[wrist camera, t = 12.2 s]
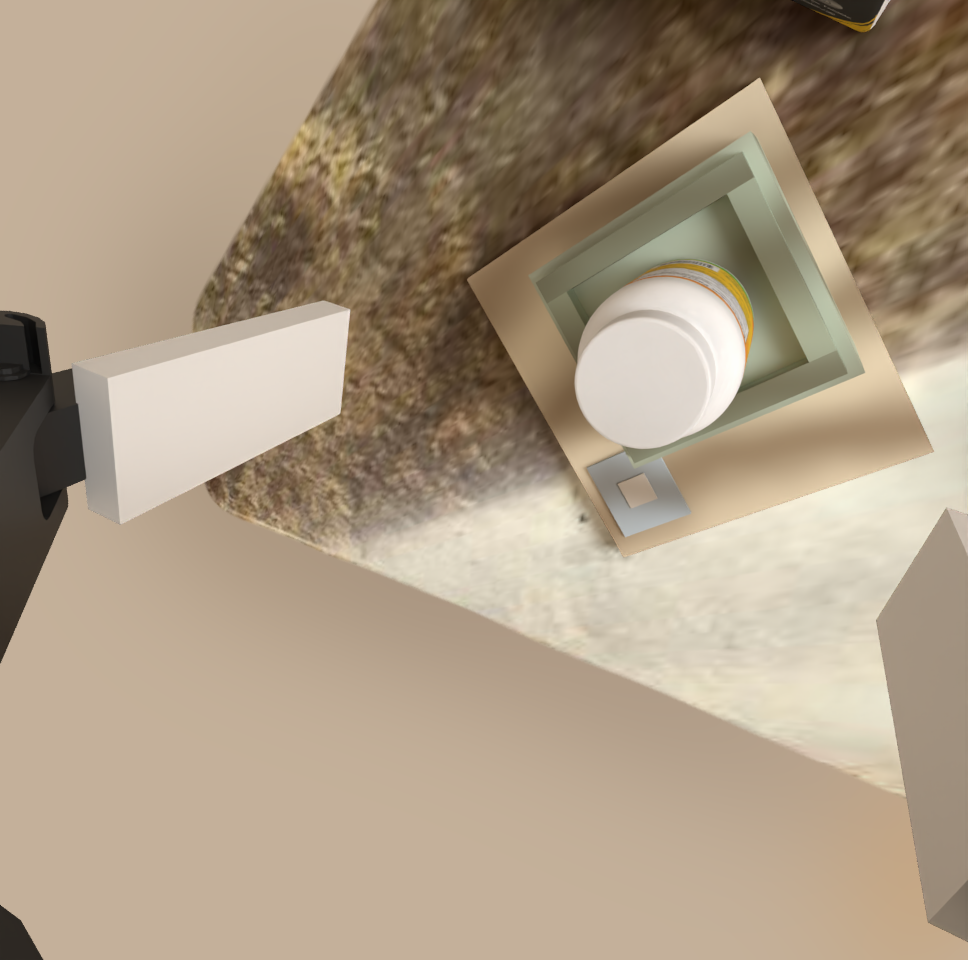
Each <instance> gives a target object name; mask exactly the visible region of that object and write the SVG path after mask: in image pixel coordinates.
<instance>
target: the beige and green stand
mask: <svg viewBox="0 0 968 960" xmlns="http://www.w3.org/2000/svg"><path fill="white" fill-rule="evenodd" d="M685 258H694V259H702V260H706V261H709V262H712V263H715V264H717V265H719V266H721V267H723V268H724V269H726V270H728V271H729V272H730V273H732V274H733V275H734V276H735V277H736V278H737V279H738V280H739V282H740V283H741V284H742V285H743V287H744V289H745V291H746V292H747V294H748V297H749V299H750V302H751V305H752V309H753V315H754V330H753V337H752V342H751V346H750V351H749V354H748V358H747V363H746V366H745V371H744V375H743V378H742V381H741V384H740V387H739V389H738V391H737V393H736V395H735V397H734V399H733V400H732V402H731V404H730V405H729V406H728V408H727V409H726V410H725V411H724V412H723V414H722V415H721V416H720V417H718V418H717V419H716V420H715V421H714V422H713V423H711V424H710V425H709V426H707V427H705V428H704V429H702V430H700V431H698V432H696V433H694V434H692V435H689V436H686V437H682V438H680V439H679V440H677V441H675V442H673V443H670V444H668V445H665V446H662V447H657V448H651V449H636V448H630V447H626V446H622V445H619V444H617V443H614V442H612V441H610V440H608V439H607V438H605V437H604V436H602V435H601V434H599V433H598V432H597V431H596V430H595V429H594V428H593V427H592V426H591V425H590V423H589V422H588V421H587V420H586V418H585V417H584V415H583V413H582V411H581V409H580V407H579V404H578V401H577V398H576V393H575V371H576V366H577V360H578V349H579V344H580V340H581V337H582V334H583V331H584V329H585V327H586V325H587V323H588V321H589V319H590V318H591V316H592V315H593V313H594V312H595V311H596V310H597V308H598V307H599V306H600V305H601V304H602V303H603V302H604V301H605V300H606V299H607V298H609V297H610V296H611V295H612V294H614V293H615V292H616V291H618V290H619V289H621V288H622V287H624V286H625V285H627V284H628V283H630V282H631V281H633V280H634V279H636V278H638V277H639V276H641V275H642V274H644V273H645V272H647V271H648V270H650V269H651V268H653V267H655V266H657V265H660V264H662V263H665V262H668V261H672V260H677V259H685ZM467 281H468V283H469V284H470V286H471V288H472V290H473V291H474V293H475V295H476V297H477V299H478V300H479V302H480V304H481V306H482V307H483V309H484V311H485V313H486V315H487V316H488V318H489V320H490V322H491V323H492V325H493V327H494V329H495V330H496V332H497V334H498V336H499V338H500V339H501V341H502V343H503V345H504V346H505V348H506V350H507V352H508V354H509V355H510V357H511V359H512V361H513V362H514V364H515V366H516V368H517V369H518V371H519V373H520V375H521V377H522V378H523V380H524V382H525V384H526V385H527V387H528V389H529V391H530V393H531V394H532V396H533V398H534V400H535V401H536V403H537V405H538V407H539V408H540V410H541V412H542V414H543V416H544V417H545V419H546V421H547V423H548V424H549V426H550V428H551V430H552V431H553V433H554V435H555V437H556V439H557V440H558V442H559V444H560V446H561V447H562V449H563V451H564V453H565V455H566V456H567V458H568V460H569V462H570V463H571V465H572V467H573V469H574V470H575V472H576V474H577V476H578V478H579V479H580V481H581V483H582V485H583V486H584V488H585V490H586V492H587V494H588V495H589V497H590V499H591V501H592V502H593V504H594V506H595V508H596V509H597V511H598V513H599V515H600V517H601V518H602V520H603V522H604V524H605V525H606V527H607V529H608V531H609V533H610V534H611V536H612V538H613V540H614V541H615V543H616V545H617V547H618V548H619V550H620V552H621V554H622V556H623V557H626V556H629V555H632V554H635V553H638V552H641V551H644V550H647V549H650V548H653V547H655V546H658V545H661V544H664V543H667V542H670V541H673V540H676V539H679V538H682V537H685V536H688V535H691V534H694V533H697V532H700V531H703V530H706V529H708V528H711V527H714V526H717V525H720V524H723V523H726V522H729V521H732V520H735V519H738V518H741V517H744V516H747V515H750V514H753V513H756V512H758V511H761V510H764V509H767V508H770V507H773V506H776V505H779V504H782V503H785V502H788V501H791V500H794V499H797V498H800V497H803V496H806V495H808V494H811V493H814V492H817V491H820V490H823V489H826V488H829V487H832V486H835V485H838V484H841V483H844V482H847V481H850V480H853V479H856V478H858V477H861V476H864V475H867V474H870V473H873V472H876V471H879V470H882V469H885V468H888V467H891V466H894V465H897V464H900V463H903V462H906V461H908V460H911V459H914V458H917V457H920V456H923V455H926V454H929V453H932V452H934V450H933V448H932V446H931V444H930V442H929V440H928V438H927V435H926V433H925V431H924V429H923V427H922V425H921V423H920V420H919V418H918V416H917V414H916V412H915V410H914V407H913V405H912V403H911V401H910V399H909V397H908V395H907V392H906V390H905V388H904V386H903V384H902V382H901V380H900V377H899V375H898V373H897V371H896V369H895V367H894V365H893V362H892V360H891V358H890V356H889V354H888V352H887V350H886V347H885V345H884V343H883V341H882V339H881V337H880V334H879V332H878V330H877V328H876V326H875V324H874V322H873V319H872V317H871V315H870V313H869V311H868V309H867V307H866V304H865V302H864V300H863V298H862V296H861V294H860V292H859V289H858V287H857V285H856V283H855V281H854V279H853V276H852V274H851V272H850V270H849V268H848V266H847V264H846V261H845V259H844V257H843V255H842V253H841V251H840V249H839V246H838V244H837V242H836V240H835V238H834V236H833V234H832V231H831V229H830V227H829V225H828V223H827V221H826V219H825V216H824V214H823V212H822V210H821V208H820V206H819V203H818V201H817V199H816V197H815V195H814V193H813V191H812V188H811V186H810V184H809V182H808V180H807V178H806V176H805V173H804V171H803V169H802V167H801V165H800V163H799V161H798V158H797V156H796V154H795V152H794V150H793V148H792V146H791V143H790V141H789V139H788V137H787V135H786V133H785V130H784V128H783V126H782V124H781V122H780V120H779V118H778V115H777V113H776V111H775V109H774V107H773V105H772V103H771V100H770V98H769V96H768V94H767V92H766V90H765V88H764V85H763V83H762V81H761V79H760V78H759V79H757V80H756V81H754V82H753V83H751V84H750V85H748V86H747V87H745V88H744V89H743V90H741V91H740V92H738V93H737V94H735V95H734V96H732V97H731V98H729V99H728V100H727V101H725V102H724V103H722V104H721V105H719V106H718V107H716V108H715V109H713V110H712V111H711V112H709V113H708V114H706V115H705V116H703V117H702V118H700V119H699V120H697V121H696V122H695V123H693V124H692V125H690V126H689V127H687V128H686V129H684V130H683V131H681V132H680V133H679V134H677V135H676V136H674V137H673V138H671V139H670V140H668V141H667V142H665V143H664V144H663V145H661V146H660V147H658V148H657V149H655V150H654V151H652V152H651V153H649V154H648V155H647V156H645V157H644V158H642V159H641V160H639V161H638V162H636V163H635V164H633V165H632V166H631V167H629V168H628V169H626V170H625V171H623V172H622V173H620V174H619V175H617V176H616V177H615V178H613V179H612V180H610V181H609V182H607V183H606V184H604V185H603V186H601V187H600V188H599V189H597V190H596V191H594V192H593V193H591V194H590V195H588V196H587V197H585V198H584V199H583V200H581V201H580V202H578V203H577V204H575V205H574V206H572V207H571V208H569V209H568V210H567V211H565V212H564V213H562V214H561V215H559V216H558V217H556V218H555V219H553V220H552V221H551V222H549V223H548V224H546V225H545V226H543V227H542V228H540V229H539V230H537V231H536V232H535V233H533V234H532V235H530V236H529V237H527V238H526V239H524V240H523V241H521V242H520V243H519V244H517V245H516V246H514V247H513V248H511V249H510V250H508V251H507V252H505V253H504V254H503V255H501V256H500V257H498V258H497V259H495V260H494V261H492V262H491V263H489V264H488V265H487V266H485V267H484V268H482V269H481V270H479V271H478V272H476V273H475V274H473V275H472V276H471V277H469V278H468V279H467Z"/></svg>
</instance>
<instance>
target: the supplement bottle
mask: <svg viewBox="0 0 968 960" xmlns="http://www.w3.org/2000/svg"><path fill="white" fill-rule="evenodd" d="M753 330H754V315H753V309H752V305H751V302H750V299H749V297H748V294H747V292H746V291H745V289H744V287H743V285H742V284H741V283H740V282H739V280H738V279H737V278H736V277H735V276H734V275H733V274H732V273H730V272H729V271H728V270H726V269H724V268H723V267H721V266H719V265H717V264H715V263H712V262H709V261H706V260H702V259H694V258H685V259H677V260H672V261H668V262H665V263H662V264H660V265H657V266H655V267H653V268H651V269H650V270H648V271H647V272H645V273H644V274H642V275H641V276H639V277H638V278H636V279H634V280H633V281H631V282H630V283H628V284H627V285H625V286H624V287H622V288H621V289H619V290H618V291H616V292H615V293H614V294H612V295H611V296H610V297H609V298H607V299H606V300H605V301H604V302H603V303H602V304H601V305H600V306H599V307H598V308H597V310H596V311H595V312H594V313H593V315H592V316H591V318H590V319H589V321H588V323H587V325H586V327H585V329H584V331H583V334H582V337H581V340H580V344H579V349H578V360H577V366H576V371H575V393H576V398H577V401H578V404H579V407H580V409H581V411H582V413H583V415H584V417H585V418H586V420H587V421H588V422H589V423H590V425H591V426H592V427H593V428H594V429H595V430H596V431H597V432H598V433H599V434H601V435H602V436H604V437H605V438H607V439H608V440H610V441H612V442H614V443H617V444H619V445H622V446H626V447H630V448H636V449H651V448H657V447H662V446H665V445H668V444H670V443H673V442H675V441H677V440H679V439H680V438H682V437H686V436H689V435H692V434H694V433H696V432H698V431H700V430H702V429H704V428H705V427H707V426H709V425H710V424H711V423H713V422H714V421H715V420H716V419H717V418H718V417H720V416H721V415H722V414H723V412H724V411H725V410H726V409H727V408H728V406H729V405H730V404H731V402H732V400H733V399H734V397H735V395H736V393H737V391H738V389H739V387H740V384H741V381H742V378H743V375H744V371H745V366H746V363H747V358H748V354H749V351H750V346H751V342H752V337H753Z"/></svg>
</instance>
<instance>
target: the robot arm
mask: <svg viewBox="0 0 968 960" xmlns="http://www.w3.org/2000/svg"><path fill="white" fill-rule="evenodd" d="M349 317H350V309H348V308H345V307H342V306H339V305H336V304H333V303H330V302H327V301H320V302H316V303H312V304H308V305H304V306H300V307H296V308H292V309H288V310H284V311H280V312H276V313H272V314H268V315H264V316H260V317H256V318H252V319H248V320H244V321H239V322H235V323H231V324H227V325H223V326H219V327H215V328H211V329H207V330H203V331H199V332H195V333H191V334H188V335H183V336H180V337H175V338H172V339H168V340H163V341H159V342H156V343H151V344H147V345H144V346H140V347H135V348H132V349H127V350H123V351H120V352H116V353H111V354H107V355H103V356H100V357H95V358H91V359H87V360H83V361H79V362H76V363H72V369H68V370H64V371H60V372H56V373H52V372H51V364H50V356H49V349H48V341H47V333H46V325H45V322H44V321H42V320H41V319H40V318H38V317H35V316H32V315H29V314H25V313H19V312H12V311H0V663H1V661H2V658H3V656H4V654H5V652H6V649H7V647H8V644H9V642H10V640H11V638H12V635H13V633H14V631H15V628H16V626H17V624H18V621H19V619H20V617H21V614H22V612H23V610H24V607H25V605H26V603H27V600H28V598H29V596H30V593H31V591H32V589H33V587H34V584H35V582H36V580H37V577H38V575H39V573H40V570H41V568H42V566H43V563H44V561H45V559H46V556H47V554H48V552H49V549H50V547H51V545H52V542H53V540H54V538H55V536H56V533H57V531H58V529H59V526H60V524H61V522H62V519H63V517H64V515H65V512H66V510H67V508H68V495H67V487H68V486H71V485H73V484H75V483H78V482H80V481H83V480H85V485H86V494H87V503H88V509H89V510H91V511H93V512H95V513H97V514H100V515H102V516H104V517H105V518H108V519H110V520H112V521H114V522H116V523H118V524H123V523H125V522H127V521H129V520H130V519H133V518H135V517H137V516H138V515H141V514H143V513H144V512H147V511H149V510H151V509H153V508H154V507H156V506H158V505H160V504H162V503H164V502H166V501H168V500H170V499H172V498H174V497H176V496H178V495H180V494H182V493H184V492H186V491H188V490H190V489H192V488H194V487H196V486H198V485H200V484H202V483H204V482H206V481H208V480H210V479H212V478H214V477H216V476H218V475H220V474H222V473H224V472H226V471H228V470H230V469H232V468H234V467H236V466H238V465H240V464H242V463H244V462H246V461H248V460H250V459H252V458H254V457H256V456H258V455H260V454H262V453H264V452H265V451H267V450H269V449H271V448H273V447H275V446H277V445H279V444H281V443H283V442H285V441H287V440H289V439H291V438H293V437H295V436H297V435H299V434H301V433H303V432H305V431H307V430H309V429H311V428H313V427H315V426H317V425H319V424H321V423H323V422H325V421H327V420H329V419H331V418H333V417H335V416H337V415H339V414H340V411H341V401H342V390H343V380H344V370H345V359H346V349H347V338H348V328H349ZM876 622H877V628H878V634H879V639H880V645H881V651H882V657H883V663H884V669H885V675H886V680H887V686H888V692H889V698H890V704H891V710H892V716H893V721H894V727H895V733H896V739H897V745H898V751H899V757H900V762H901V768H902V774H903V780H904V786H905V792H906V798H907V803H908V809H909V815H910V821H911V827H912V832H913V838H914V844H915V850H916V856H917V862H918V868H919V874H920V879H921V885H922V890H923V897H924V903H925V909H926V915H927V920H928V923H930V924H932V925H934V926H936V927H938V928H940V929H942V930H945V931H947V932H949V933H951V934H953V935H955V936H957V937H959V938H961V939H963V940H965V941H967V942H968V515H967V514H964V513H961V512H958V511H955V510H952V509H949V508H946V509H945V511H944V512H943V514H942V516H941V517H940V519H939V520H938V522H937V524H936V525H935V527H934V528H933V530H932V532H931V533H930V535H929V536H928V538H927V540H926V541H925V543H924V544H923V546H922V548H921V549H920V551H919V552H918V554H917V556H916V557H915V559H914V560H913V562H912V564H911V565H910V567H909V568H908V570H907V572H906V573H905V575H904V576H903V578H902V580H901V581H900V583H899V584H898V586H897V588H896V589H895V591H894V592H893V594H892V596H891V597H890V599H889V601H888V602H887V604H886V605H885V607H884V609H883V610H882V612H881V613H880V615H879V617H878V618H877V620H876ZM0 960H43V959H42V957H41V955H40V953H39V952H38V950H37V948H36V946H35V944H34V943H33V941H32V939H31V938H30V936H29V934H28V932H27V930H26V929H25V927H24V925H23V923H22V922H21V920H20V919H18V918H17V917H16V916H14V915H13V914H11V913H10V912H9V911H7V910H6V909H5V908H3V907H2V906H1V905H0Z"/></svg>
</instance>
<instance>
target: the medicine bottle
mask: <svg viewBox="0 0 968 960" xmlns="http://www.w3.org/2000/svg"><path fill="white" fill-rule="evenodd" d="M792 1H794V2H796V3H799V4H801V5H803V6H805V7H807V8H809V9H811V10H814V11H816V12H818V13H820V14H822V15H824V16H826V17H829V18H831V19H833V20H835V21H837V22H839V23H841V24H844V25H846V26H848V27H850V28H852V29H854V30H856V31H859V32H866V31H869V30H870V29H871V28H872V27H873V26H874V25H875V23H876V22H877V20H878V19H879V17H880V15H881V14H882V12H883V11H884V9H885V7H886V6H887V4H888V3H889V1H890V0H792Z"/></svg>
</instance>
